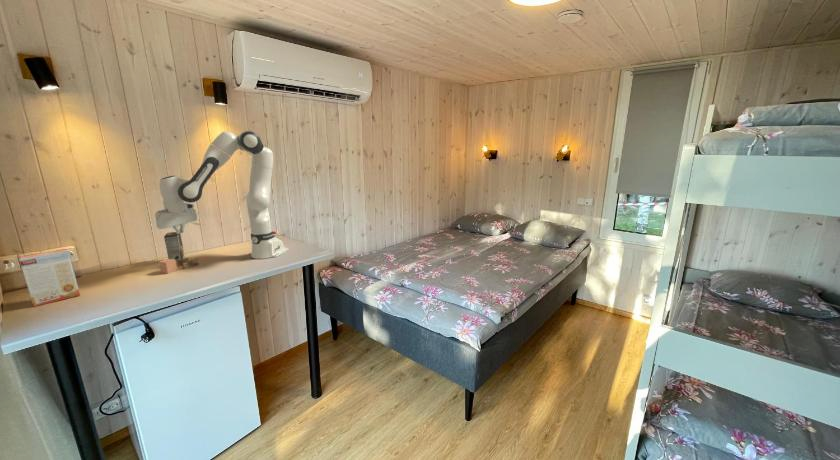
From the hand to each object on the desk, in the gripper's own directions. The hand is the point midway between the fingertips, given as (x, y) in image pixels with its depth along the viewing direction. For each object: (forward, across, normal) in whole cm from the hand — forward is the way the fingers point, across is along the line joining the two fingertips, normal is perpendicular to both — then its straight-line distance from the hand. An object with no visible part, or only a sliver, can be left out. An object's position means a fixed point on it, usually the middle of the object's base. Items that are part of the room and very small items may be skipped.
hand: (180, 232), depth 182 cm
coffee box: (+19, +6, +16) cm, 25 cm away
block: (+18, -10, +1) cm, 21 cm away
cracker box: (+18, -48, +16) cm, 53 cm away
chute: (+19, -3, +1) cm, 19 cm away
